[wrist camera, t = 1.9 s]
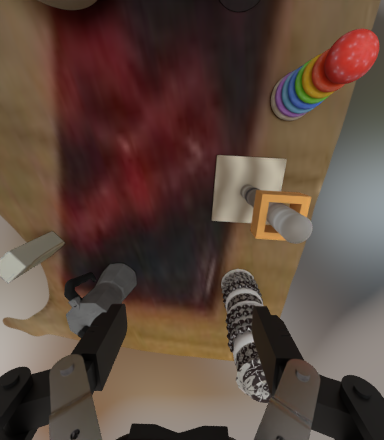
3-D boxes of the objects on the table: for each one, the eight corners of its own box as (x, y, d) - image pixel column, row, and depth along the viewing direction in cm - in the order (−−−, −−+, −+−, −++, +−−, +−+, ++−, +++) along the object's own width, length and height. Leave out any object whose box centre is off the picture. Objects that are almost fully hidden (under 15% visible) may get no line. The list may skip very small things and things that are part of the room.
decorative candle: (262, 290, 53) (312, 401, 29) (229, 303, 54) (251, 419, 30) (247, 261, 50) (288, 356, 27) (213, 276, 52) (223, 379, 28)
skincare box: (50, 256, 52) (8, 285, 41) (37, 244, 52) (-11, 269, 40) (66, 242, 51) (26, 267, 39) (52, 229, 50) (7, 251, 39)
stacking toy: (308, 120, 41) (392, 93, 23) (267, 121, 41) (318, 95, 23) (315, 74, 38) (413, 2, 21) (271, 75, 39) (330, 7, 21)
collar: (250, 230, 29) (255, 238, 26) (256, 190, 27) (262, 193, 24) (291, 232, 28) (301, 241, 26) (299, 192, 27) (311, 196, 24)
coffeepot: (148, 291, 54) (123, 354, 37) (118, 303, 56) (80, 369, 39) (117, 242, 50) (74, 287, 33) (86, 256, 52) (29, 306, 35)
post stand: (211, 218, 48) (221, 284, 23) (216, 155, 43) (236, 153, 19) (272, 222, 47) (348, 293, 23) (284, 158, 43) (391, 162, 19)
